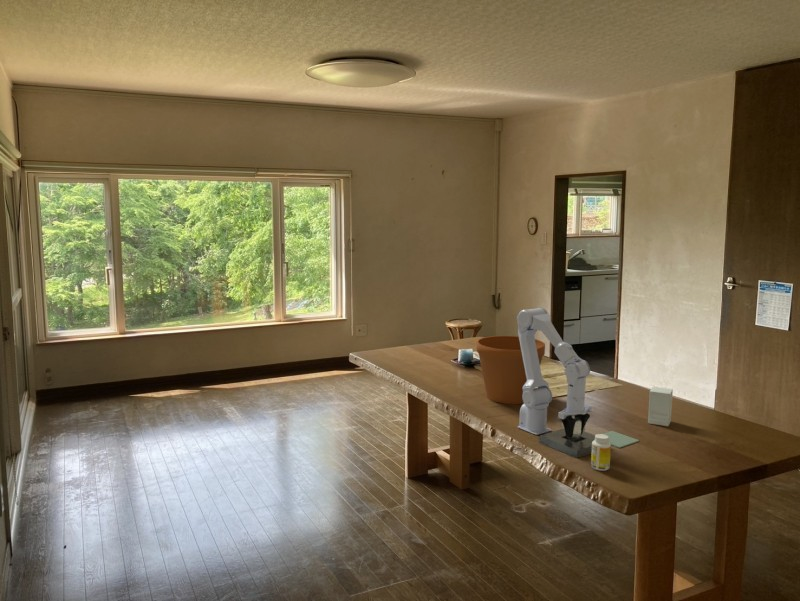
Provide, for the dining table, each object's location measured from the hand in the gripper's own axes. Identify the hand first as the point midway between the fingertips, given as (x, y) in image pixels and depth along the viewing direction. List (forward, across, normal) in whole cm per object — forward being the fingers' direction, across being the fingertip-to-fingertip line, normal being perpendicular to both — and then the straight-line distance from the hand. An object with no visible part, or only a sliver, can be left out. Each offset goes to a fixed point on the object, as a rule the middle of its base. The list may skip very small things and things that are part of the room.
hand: (573, 435), depth 211 cm
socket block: (+3, 0, 0) cm, 3 cm away
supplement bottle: (+4, -8, -17) cm, 19 cm away
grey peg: (+3, 0, 0) cm, 3 cm away
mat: (+3, +16, -5) cm, 17 cm away
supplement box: (+4, +45, -3) cm, 45 cm away
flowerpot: (+4, +20, +51) cm, 55 cm away
